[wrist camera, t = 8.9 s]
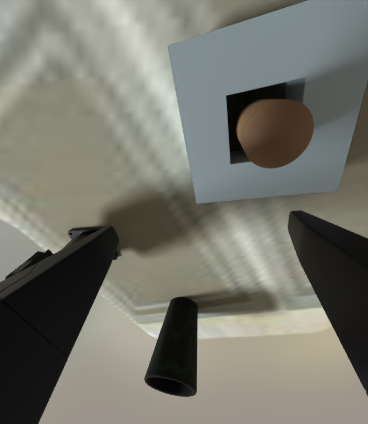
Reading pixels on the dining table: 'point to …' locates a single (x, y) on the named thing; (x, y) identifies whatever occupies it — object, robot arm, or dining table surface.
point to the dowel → (273, 131)
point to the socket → (267, 76)
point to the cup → (176, 351)
